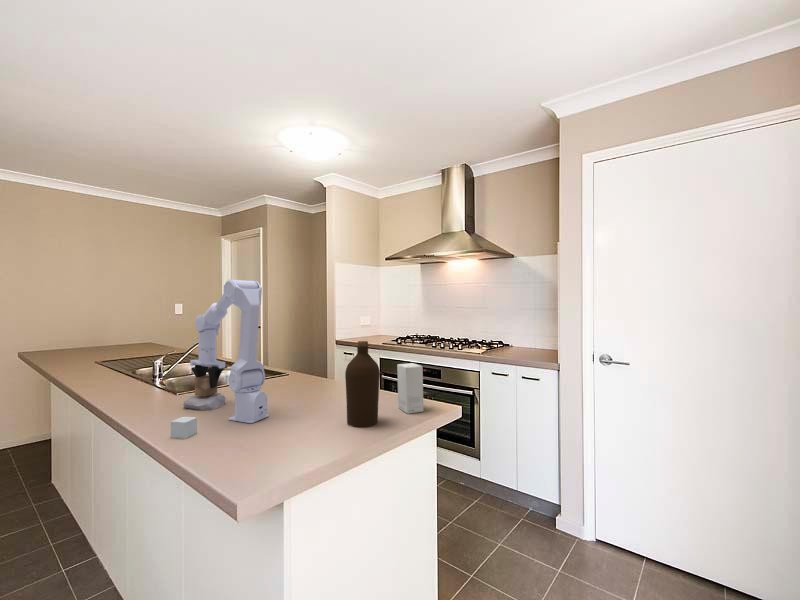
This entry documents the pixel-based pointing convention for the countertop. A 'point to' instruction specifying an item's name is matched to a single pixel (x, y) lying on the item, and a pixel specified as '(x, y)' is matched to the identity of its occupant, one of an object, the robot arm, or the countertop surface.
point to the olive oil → (362, 388)
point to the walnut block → (204, 386)
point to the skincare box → (410, 388)
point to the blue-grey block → (183, 427)
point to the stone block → (205, 402)
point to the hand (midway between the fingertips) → (207, 386)
